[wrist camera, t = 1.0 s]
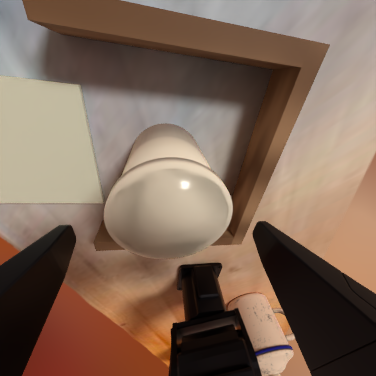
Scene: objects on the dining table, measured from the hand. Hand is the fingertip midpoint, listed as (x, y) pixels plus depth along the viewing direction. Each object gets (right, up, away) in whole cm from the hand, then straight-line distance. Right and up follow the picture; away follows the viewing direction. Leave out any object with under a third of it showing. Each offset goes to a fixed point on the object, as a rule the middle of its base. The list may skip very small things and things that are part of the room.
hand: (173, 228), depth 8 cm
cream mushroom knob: (-1, +4, +8) cm, 8 cm away
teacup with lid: (+15, -22, +28) cm, 39 cm away
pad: (-12, +5, +5) cm, 13 cm away
